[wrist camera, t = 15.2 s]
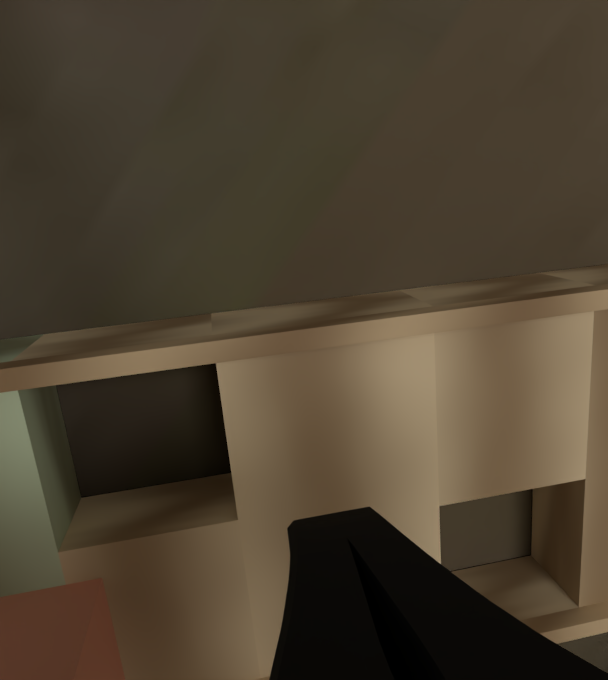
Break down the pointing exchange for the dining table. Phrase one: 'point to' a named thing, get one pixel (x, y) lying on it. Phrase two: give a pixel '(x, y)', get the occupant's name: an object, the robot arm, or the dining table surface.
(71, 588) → the brick block
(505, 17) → the dining table surface
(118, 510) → the trap tray
